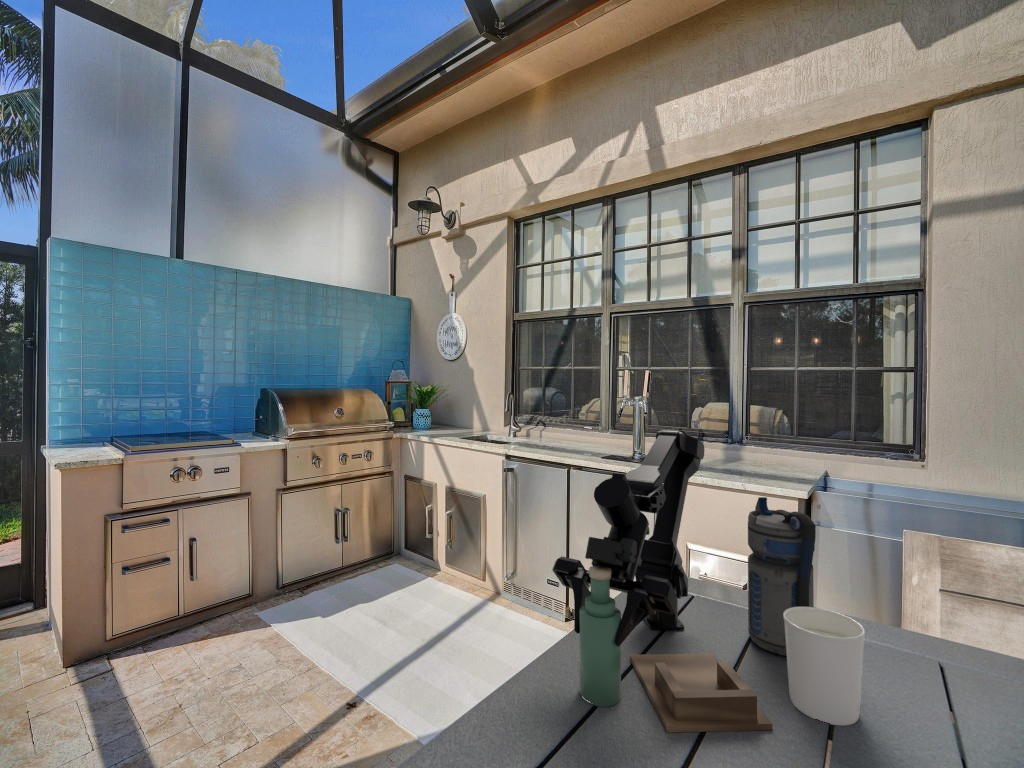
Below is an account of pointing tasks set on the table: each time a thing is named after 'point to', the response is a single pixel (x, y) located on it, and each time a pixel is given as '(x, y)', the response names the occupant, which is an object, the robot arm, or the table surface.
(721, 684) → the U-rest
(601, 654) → the oil bottle
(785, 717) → the table surface
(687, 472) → the robot arm
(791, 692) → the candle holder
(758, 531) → the beverage bottle
